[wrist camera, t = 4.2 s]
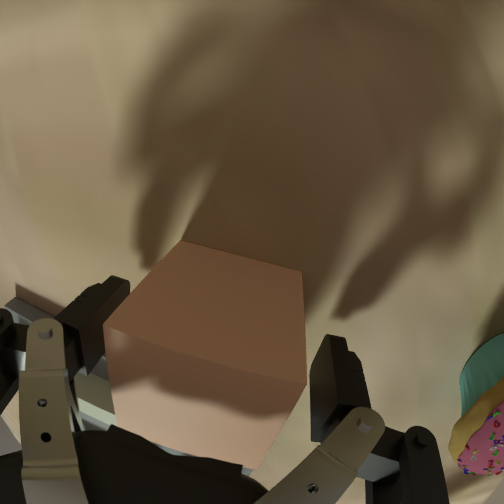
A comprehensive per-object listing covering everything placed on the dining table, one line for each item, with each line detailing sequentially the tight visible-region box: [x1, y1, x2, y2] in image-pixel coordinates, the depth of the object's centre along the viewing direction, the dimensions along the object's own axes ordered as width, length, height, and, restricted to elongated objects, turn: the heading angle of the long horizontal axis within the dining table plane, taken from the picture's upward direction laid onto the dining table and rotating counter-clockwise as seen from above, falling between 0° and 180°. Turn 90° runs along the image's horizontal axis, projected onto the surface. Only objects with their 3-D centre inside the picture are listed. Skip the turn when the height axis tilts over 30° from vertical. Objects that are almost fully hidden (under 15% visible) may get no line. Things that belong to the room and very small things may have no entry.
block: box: [103, 240, 307, 470], centre depth 10 cm, size 5×5×6 cm
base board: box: [4, 297, 253, 476], centre depth 15 cm, size 18×14×5 cm
